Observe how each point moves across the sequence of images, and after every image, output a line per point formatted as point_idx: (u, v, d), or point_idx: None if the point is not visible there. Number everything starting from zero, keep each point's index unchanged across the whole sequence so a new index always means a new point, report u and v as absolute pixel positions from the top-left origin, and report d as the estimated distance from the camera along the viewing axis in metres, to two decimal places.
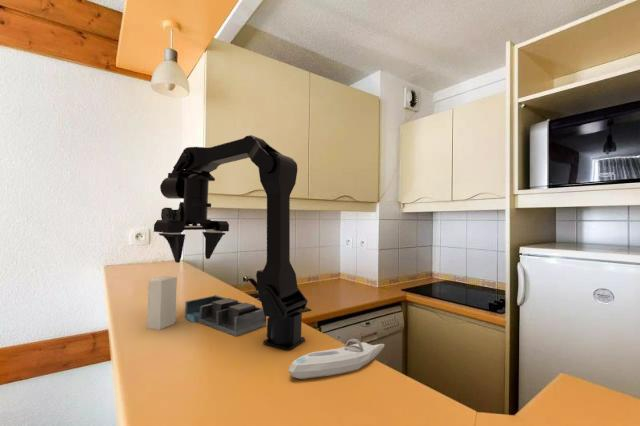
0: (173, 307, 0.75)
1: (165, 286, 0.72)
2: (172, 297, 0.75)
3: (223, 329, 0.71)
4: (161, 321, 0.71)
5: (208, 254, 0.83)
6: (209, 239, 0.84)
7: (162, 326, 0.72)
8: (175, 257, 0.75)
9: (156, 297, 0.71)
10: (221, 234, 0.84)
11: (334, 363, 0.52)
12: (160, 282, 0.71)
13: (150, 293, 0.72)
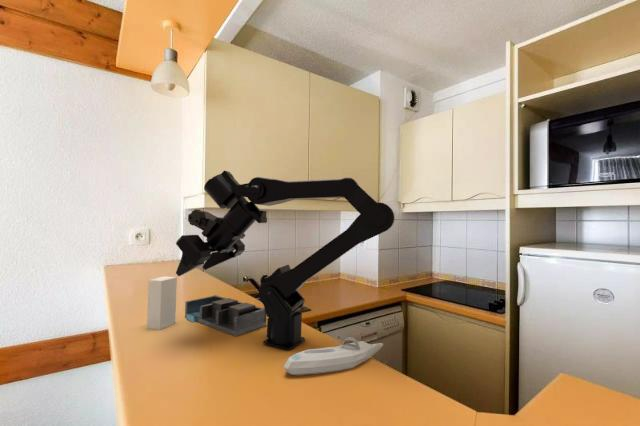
0: (173, 307, 0.75)
1: (165, 286, 0.72)
2: (172, 297, 0.75)
3: (223, 329, 0.71)
4: (161, 321, 0.71)
5: (207, 266, 0.76)
6: (218, 254, 0.76)
7: (162, 326, 0.72)
8: (179, 270, 0.67)
9: (156, 297, 0.71)
10: None
11: (329, 360, 0.53)
12: (160, 282, 0.71)
13: (150, 293, 0.72)
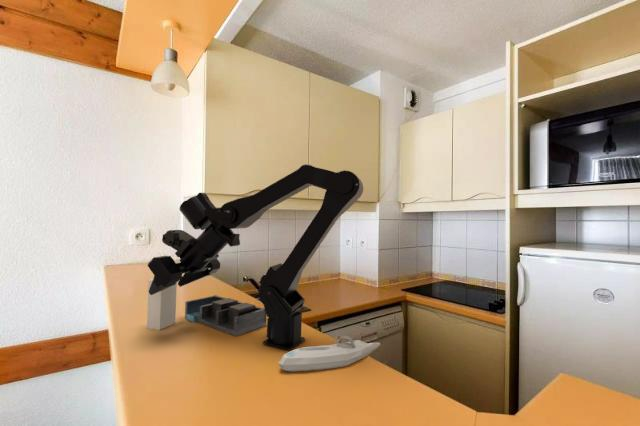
0: (173, 307, 0.75)
1: None
2: (172, 297, 0.75)
3: (223, 329, 0.71)
4: (161, 321, 0.71)
5: (182, 283, 0.78)
6: None
7: (162, 326, 0.72)
8: (151, 289, 0.68)
9: (156, 297, 0.71)
10: (207, 275, 0.78)
11: (323, 357, 0.54)
12: None
13: None
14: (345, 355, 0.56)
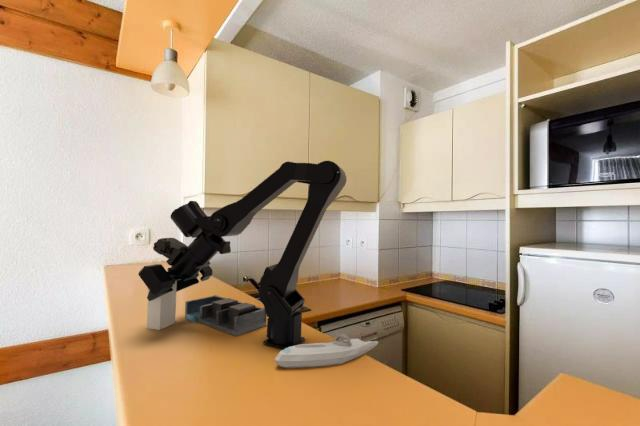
0: (173, 307, 0.75)
1: None
2: (172, 297, 0.75)
3: (223, 329, 0.71)
4: (161, 321, 0.71)
5: None
6: (180, 280, 0.76)
7: (162, 326, 0.72)
8: (149, 296, 0.71)
9: None
10: (194, 284, 0.77)
11: (318, 355, 0.55)
12: None
13: None
14: (341, 353, 0.57)
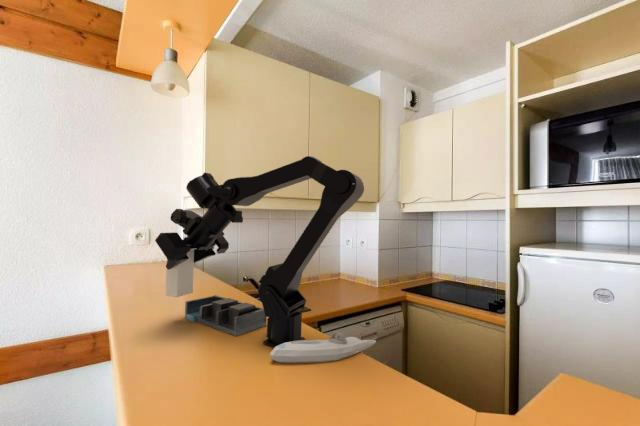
0: (190, 277, 0.78)
1: None
2: (189, 267, 0.77)
3: (223, 329, 0.71)
4: (178, 288, 0.74)
5: None
6: (197, 251, 0.79)
7: (179, 294, 0.74)
8: (168, 264, 0.74)
9: None
10: (210, 255, 0.79)
11: (312, 351, 0.57)
12: None
13: None
14: (334, 350, 0.58)
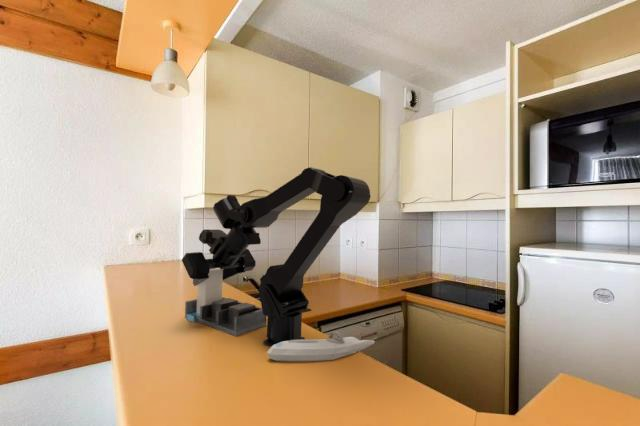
0: (219, 296, 0.82)
1: (210, 276, 0.80)
2: (218, 287, 0.82)
3: (223, 329, 0.71)
4: None
5: None
6: (228, 268, 0.84)
7: None
8: (194, 281, 0.79)
9: (202, 286, 0.79)
10: (240, 273, 0.83)
11: (309, 350, 0.57)
12: None
13: None
14: (331, 349, 0.58)
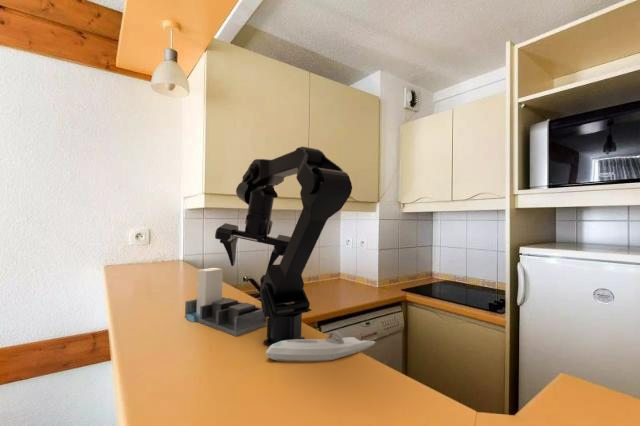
0: (219, 296, 0.82)
1: (210, 276, 0.80)
2: (218, 287, 0.82)
3: (223, 329, 0.71)
4: None
5: None
6: None
7: None
8: None
9: (202, 286, 0.79)
10: (276, 254, 0.77)
11: (307, 350, 0.57)
12: (205, 272, 0.79)
13: (199, 281, 0.80)
14: (330, 349, 0.58)
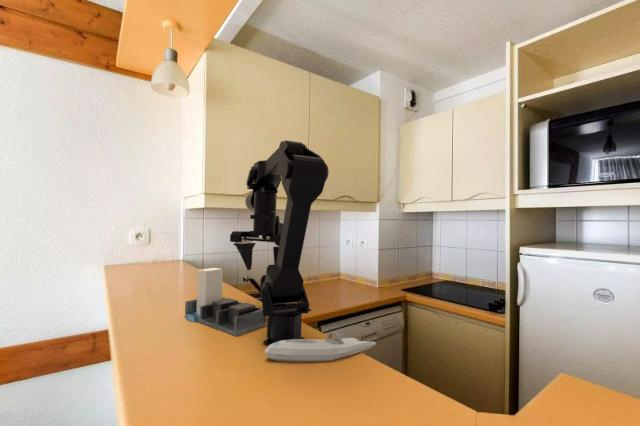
0: (219, 296, 0.82)
1: (210, 276, 0.80)
2: (218, 287, 0.82)
3: (223, 329, 0.71)
4: None
5: None
6: None
7: None
8: None
9: (202, 286, 0.79)
10: (277, 248, 0.76)
11: (306, 350, 0.57)
12: (205, 272, 0.79)
13: (199, 281, 0.80)
14: (329, 350, 0.58)
